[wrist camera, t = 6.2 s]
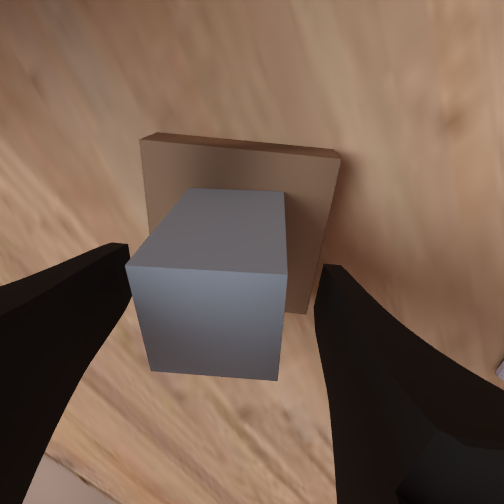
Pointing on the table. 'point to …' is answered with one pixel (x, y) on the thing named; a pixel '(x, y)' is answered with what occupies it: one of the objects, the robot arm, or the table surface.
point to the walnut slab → (249, 178)
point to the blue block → (214, 285)
